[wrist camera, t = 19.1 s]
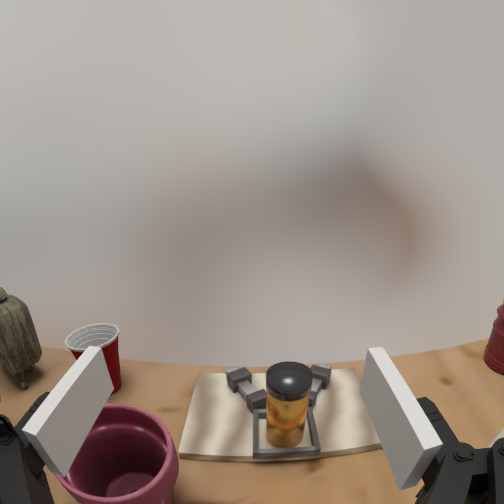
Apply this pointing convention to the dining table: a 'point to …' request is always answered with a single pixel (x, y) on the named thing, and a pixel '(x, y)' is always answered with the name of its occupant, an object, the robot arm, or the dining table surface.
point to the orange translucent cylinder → (287, 403)
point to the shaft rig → (254, 418)
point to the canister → (496, 343)
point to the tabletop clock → (17, 337)
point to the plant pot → (124, 460)
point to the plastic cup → (98, 337)
